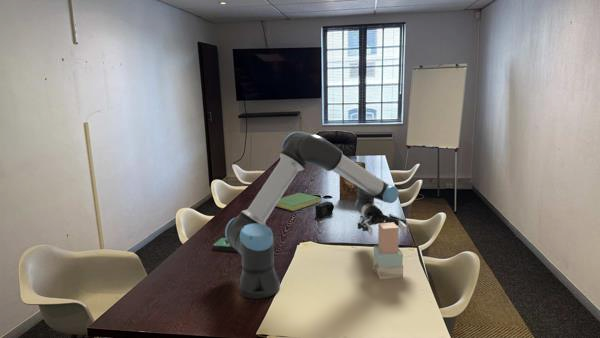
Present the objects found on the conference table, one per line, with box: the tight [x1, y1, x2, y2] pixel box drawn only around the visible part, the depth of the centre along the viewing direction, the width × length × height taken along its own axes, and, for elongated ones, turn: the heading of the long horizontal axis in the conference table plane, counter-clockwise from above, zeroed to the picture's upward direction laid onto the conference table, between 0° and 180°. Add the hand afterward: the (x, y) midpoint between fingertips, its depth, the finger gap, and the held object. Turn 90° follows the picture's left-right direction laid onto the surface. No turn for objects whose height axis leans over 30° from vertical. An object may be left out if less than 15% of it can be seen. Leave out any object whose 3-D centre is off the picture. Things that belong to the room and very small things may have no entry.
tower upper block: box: [373, 244, 404, 267], centre depth 156 cm, size 9×9×5 cm
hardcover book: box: [275, 192, 320, 212], centre depth 254 cm, size 25×19×4 cm
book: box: [338, 161, 366, 203], centre depth 256 cm, size 16×6×25 cm, turn 58°
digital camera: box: [314, 200, 335, 219], centre depth 229 cm, size 10×5×7 cm, turn 137°
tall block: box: [377, 222, 400, 253], centre depth 154 cm, size 6×6×10 cm
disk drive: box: [212, 237, 239, 253], centre depth 189 cm, size 10×3×15 cm
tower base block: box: [372, 258, 404, 280], centre depth 157 cm, size 9×9×5 cm
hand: (388, 230), depth 155 cm, fingers open, 13 cm apart
